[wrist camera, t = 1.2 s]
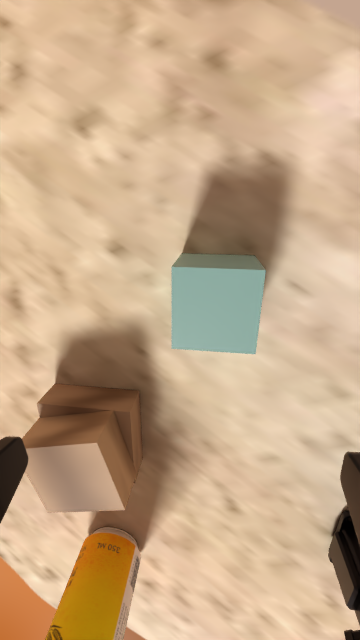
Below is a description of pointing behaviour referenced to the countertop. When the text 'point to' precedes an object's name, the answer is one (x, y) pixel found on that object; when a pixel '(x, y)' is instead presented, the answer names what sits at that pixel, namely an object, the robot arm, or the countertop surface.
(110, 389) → the slab lower
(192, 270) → the teal cube
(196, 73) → the countertop surface
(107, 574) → the beer can
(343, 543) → the robot arm
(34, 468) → the slab upper
